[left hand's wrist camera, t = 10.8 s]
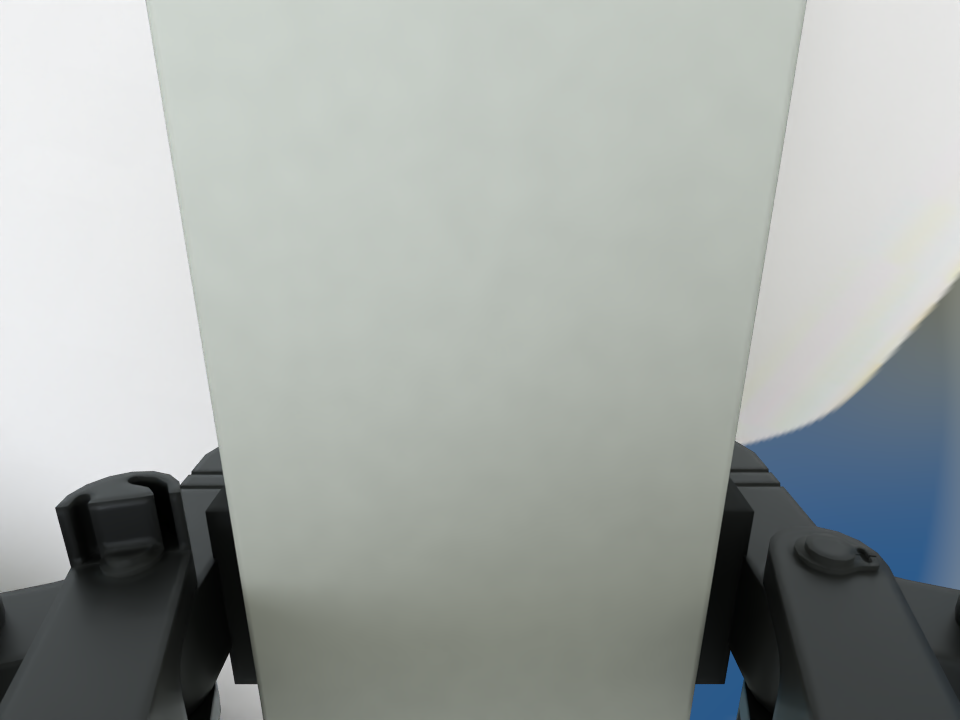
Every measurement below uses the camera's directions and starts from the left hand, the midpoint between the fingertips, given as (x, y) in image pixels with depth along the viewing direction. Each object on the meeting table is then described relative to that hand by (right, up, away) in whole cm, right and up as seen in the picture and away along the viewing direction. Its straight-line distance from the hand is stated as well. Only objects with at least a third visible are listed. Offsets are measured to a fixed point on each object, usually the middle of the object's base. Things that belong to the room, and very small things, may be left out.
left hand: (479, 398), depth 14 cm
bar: (0, +22, -8) cm, 24 cm away
